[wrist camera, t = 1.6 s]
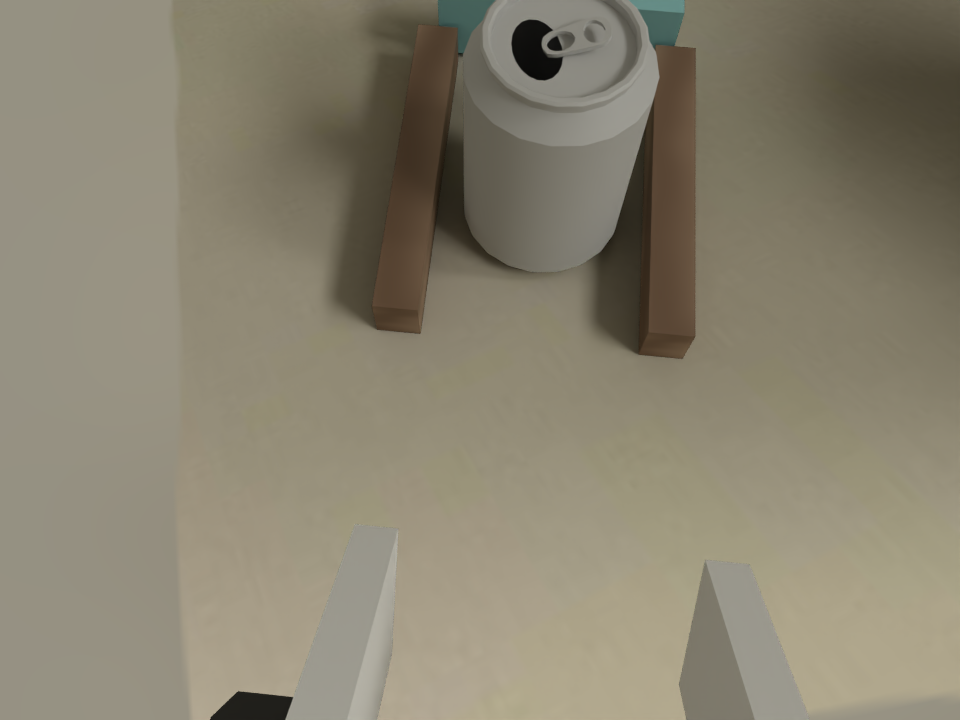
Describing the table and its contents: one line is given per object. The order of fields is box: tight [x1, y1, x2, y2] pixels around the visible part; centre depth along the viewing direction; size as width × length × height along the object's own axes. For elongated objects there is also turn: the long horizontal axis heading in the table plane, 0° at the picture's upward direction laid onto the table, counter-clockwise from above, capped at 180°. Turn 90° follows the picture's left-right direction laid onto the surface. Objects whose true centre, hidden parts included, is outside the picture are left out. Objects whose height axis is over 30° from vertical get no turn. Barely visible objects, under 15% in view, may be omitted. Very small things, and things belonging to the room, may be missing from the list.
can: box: [463, 0, 659, 272], centre depth 37 cm, size 8×8×12 cm
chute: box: [372, 24, 696, 359], centre depth 42 cm, size 14×16×2 cm
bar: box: [438, 0, 684, 53], centre depth 44 cm, size 12×2×4 cm, turn 84°
